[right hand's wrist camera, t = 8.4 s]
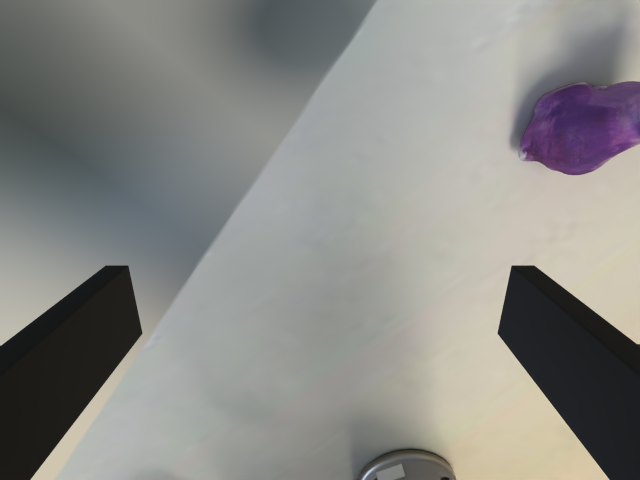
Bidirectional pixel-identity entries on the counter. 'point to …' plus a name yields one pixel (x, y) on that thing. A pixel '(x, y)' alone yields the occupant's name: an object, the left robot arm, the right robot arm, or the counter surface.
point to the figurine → (582, 126)
